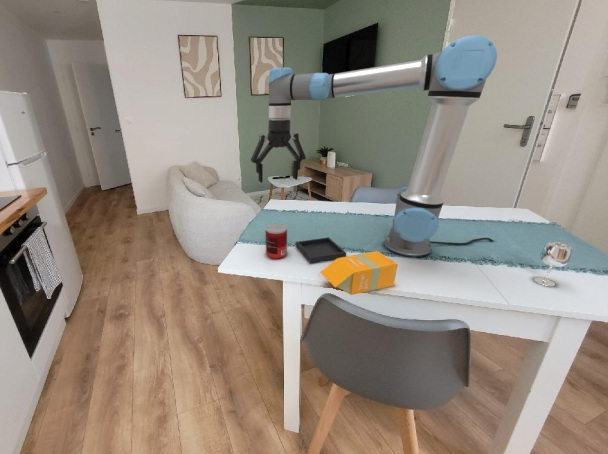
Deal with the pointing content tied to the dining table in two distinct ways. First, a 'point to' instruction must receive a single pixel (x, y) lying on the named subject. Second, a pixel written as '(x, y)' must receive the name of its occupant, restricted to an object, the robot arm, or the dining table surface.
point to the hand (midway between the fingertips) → (278, 180)
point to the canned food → (276, 241)
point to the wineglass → (554, 259)
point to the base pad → (320, 250)
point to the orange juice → (361, 272)
